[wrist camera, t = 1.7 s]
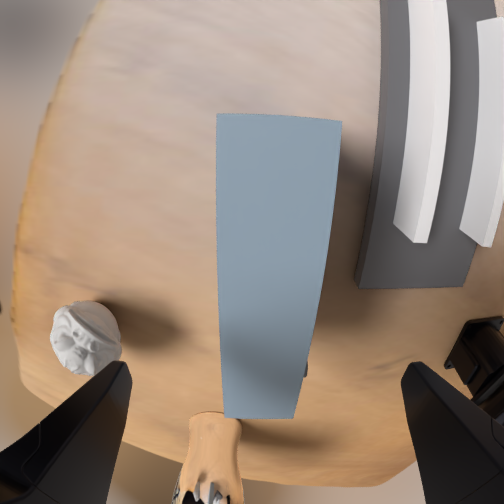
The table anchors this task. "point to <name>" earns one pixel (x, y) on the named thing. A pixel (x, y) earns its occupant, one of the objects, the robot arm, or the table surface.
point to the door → (271, 253)
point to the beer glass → (211, 462)
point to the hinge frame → (435, 144)
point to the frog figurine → (85, 337)
